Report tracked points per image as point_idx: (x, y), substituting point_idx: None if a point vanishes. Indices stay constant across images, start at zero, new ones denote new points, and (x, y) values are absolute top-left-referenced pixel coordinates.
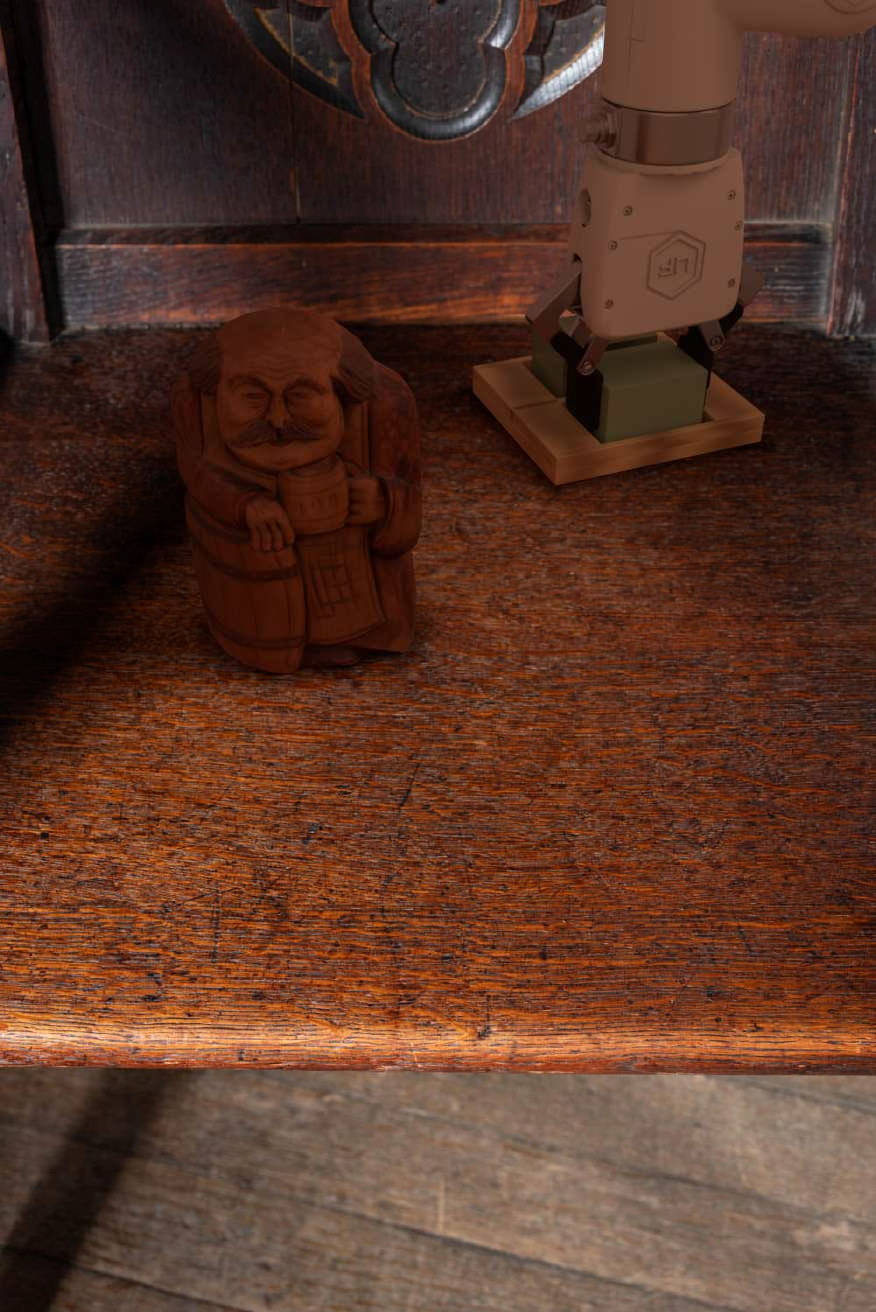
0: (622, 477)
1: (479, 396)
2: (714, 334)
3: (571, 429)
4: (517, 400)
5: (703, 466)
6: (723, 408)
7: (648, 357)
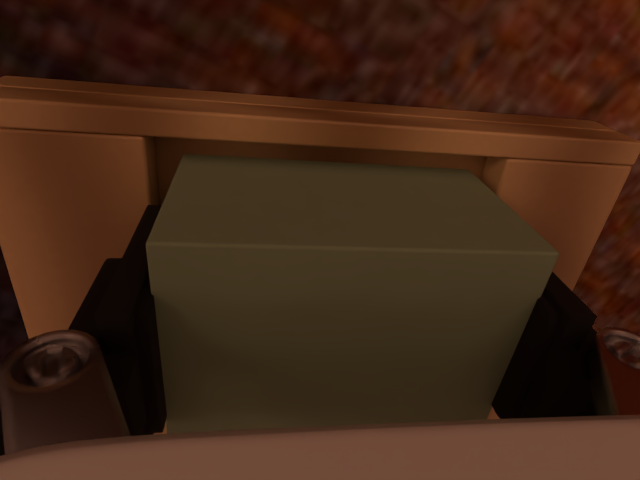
0: (446, 85)
1: None
2: (50, 394)
3: None
4: None
5: (231, 34)
6: (84, 187)
7: (297, 384)
